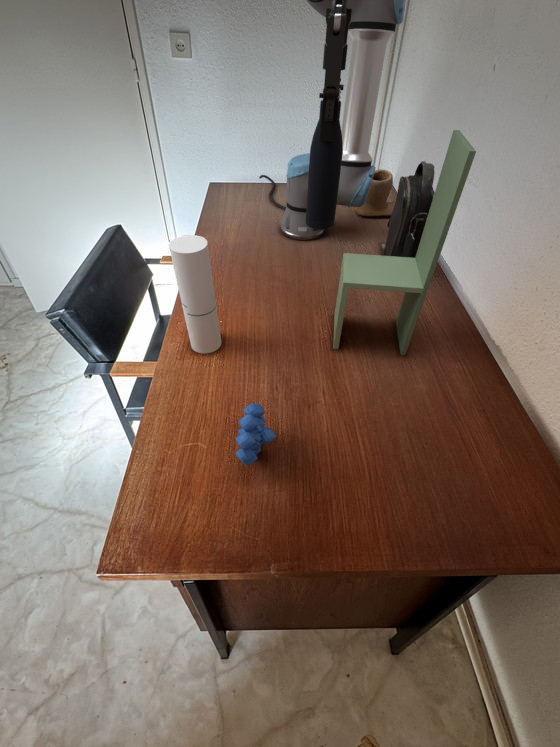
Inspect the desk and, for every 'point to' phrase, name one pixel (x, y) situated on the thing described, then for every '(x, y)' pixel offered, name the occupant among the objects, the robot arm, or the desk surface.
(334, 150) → the wine bottle
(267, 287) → the desk surface
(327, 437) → the desk surface
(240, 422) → the grapes
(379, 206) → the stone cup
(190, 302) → the cylindrical container
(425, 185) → the shoulder bag
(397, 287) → the green miniature chair
